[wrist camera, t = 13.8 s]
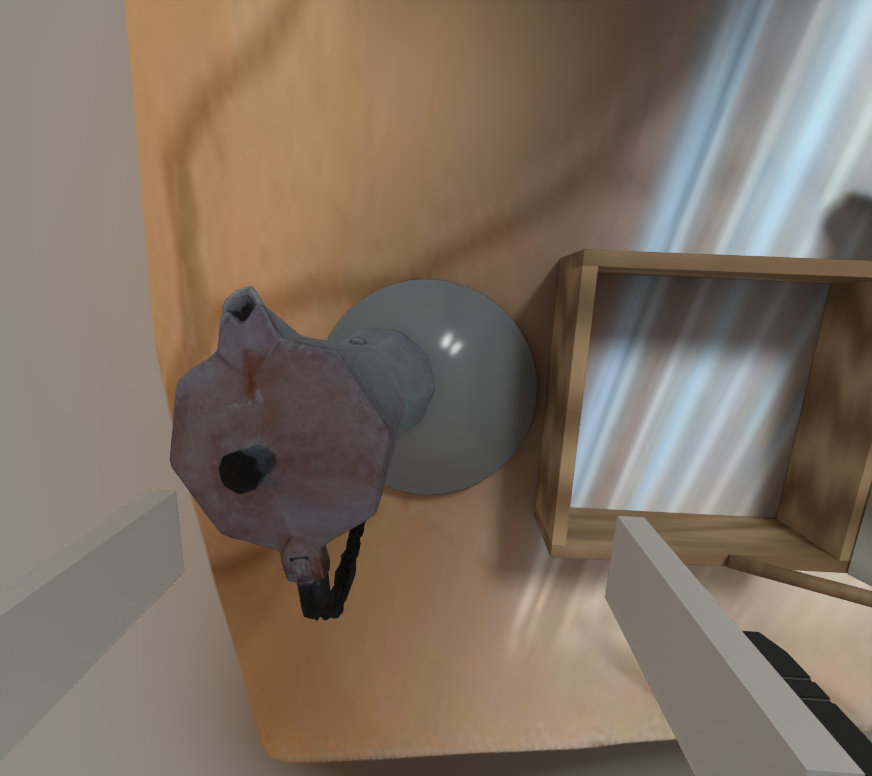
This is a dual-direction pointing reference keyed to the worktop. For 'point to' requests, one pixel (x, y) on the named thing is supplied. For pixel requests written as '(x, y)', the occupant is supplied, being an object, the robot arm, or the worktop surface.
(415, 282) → the disc
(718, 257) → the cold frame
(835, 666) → the worktop surface
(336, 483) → the moka pot
